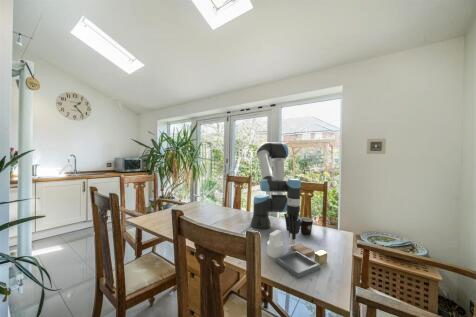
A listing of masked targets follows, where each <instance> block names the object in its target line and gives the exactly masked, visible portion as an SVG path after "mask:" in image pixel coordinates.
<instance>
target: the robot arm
mask: <svg viewBox="0 0 476 317" xmlns="http://www.w3.org/2000/svg"><path fill="white" fill-rule="evenodd" d="M256 157H257V158H256V159H258V162H259V167H260V172H261V180H260V182H259V189H260V191H261V192H267V193H268V192H272V193H271V194H270V195H269V194H265V193H263V194H260V193H259V194H257V195H255V196H254V197H253V207H252V208H253V210H252V218H251V220H250V226H251V227H252V228H254V229H257V230H265V229H266V230H267V229H270V228H271V220H270V216H269V215H270V214H269V213H284V214H283V215H284V216H283V217H284V219H285V220H284V221H285V227H286V231H287V232H288V233H289V234H288V238H289V245H291V246H294V245H296V244H295V243H296V235H297V234H299V233H300V231H301V230H300V229H301V222H302V221H303V219H301V218H302V217H300V212H301V206H300V205H301V192H302V191H301V190H302V189H301V188H302V182H301V179H299V178H287V179H286V178H285V161H286V160H287V158H288V157H289V147H288V144H287V143H285V142H273V141H272V142H271V141H270V142H269V141H268V142H263V143H262V144H261V145H259V146H258V148H257V150H256ZM270 160H271V161H272V165H271V161H270Z"/></svg>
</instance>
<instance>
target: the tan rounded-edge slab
mask: <svg viewBox="0 0 476 317" xmlns="http://www.w3.org/2000/svg"><path fill="white" fill-rule="evenodd" d="M290 251H291V252H294V251H298V252H299V253H301V254H303V255H305V256H306V257H308V258H309V257H312V256H313V255H314V256H315V250H314V249H312V248H310V247H308V246H306V245H304V244H302V243H297V244H293V245H291V246H290Z"/></svg>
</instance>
